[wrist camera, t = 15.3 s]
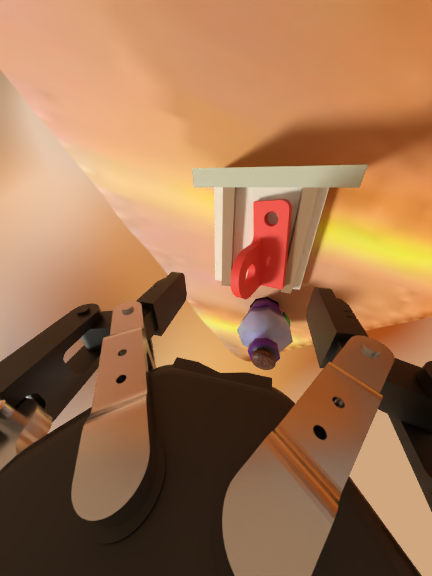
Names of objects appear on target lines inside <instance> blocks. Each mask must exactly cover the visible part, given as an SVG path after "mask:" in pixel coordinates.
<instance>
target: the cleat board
mask: <svg viewBox="0 0 432 576" xmlns="http://www.w3.org/2000/svg"><path fill="white" fill-rule="evenodd" d="M367 166H368V165H326V166H280V167H234V168H192V170H193V186H194V187H214V203H215V280H221V281H222V285H225V286H231V271H232V267H233V264H234V261H235V259H236V257H237V255H238V254H239V252H240V251H241V250H243V249H244V248H246V247H247V246H249V245H250V244H251V243H252V241H253V235H254V230H253V202H254V201H260V200H275V199H287V200H289V201H290V203H291V205H292V214H291V224H290V235H289V246H288V256H287V267H286V277H285V286H284V288H283V289H280V290H281V292H283V293H291V291H292V289H299V290H300V287H301V284H302V280H303V277H304V273H305V270H306V266H307V263H308V259H309V256H310V253H311V249H312V246H313V242H314V239H315V235H316V232H317V228H318V225H319V221H320V218H321V214H322V211H323V207H324V204H325V201H326V197H327V194H328V190H329V188H360V185H361V182H362V179H363V177H364V174H365V171H366V169H367ZM267 218H268V221H269V223H270V224H273V225H275V224H277V222H278V215H277V214H276V213H275V212H273V211H270V212H269V214H268V217H267ZM247 274H248V270H247ZM247 274H246V278H247Z"/></svg>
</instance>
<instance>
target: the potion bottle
mask: <svg viewBox="0 0 432 576" xmlns="http://www.w3.org/2000/svg"><path fill="white" fill-rule="evenodd" d="M237 331H238V333H239V336H240V339H241V341H242V344H243V345H245V346H247V347H249V348H248V353H249V355H250V358H251V360H252V362H253V364H254V365H255V366H256V367H258V368H260V369H264V370H270V369H273V368H274V367H275V363H276V362H277V361H278V360H279V359H280V354H279V353H280V352H281V351H282V350H283V349H284V348H286V347H287V346H288V345H289V344H290V343H292V342H293V341H292V336H291V331H290V322H289V319H288V316H287V314H286V313H285V312H283V314H282V313H281V311H280V309H279V305H278V303H277V302H276V301H274V300H272V299H270V298H268V297H266V298H259V299H255V301H254V302H253V303H252V305H251V306H250V310H249V311H248V313H247V315H246V316H245V317H244V319H243V320H242V322H241V324H240V326H239V328H238V330H237Z"/></svg>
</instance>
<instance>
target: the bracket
mask: <svg viewBox="0 0 432 576" xmlns="http://www.w3.org/2000/svg"><path fill="white" fill-rule="evenodd" d="M270 211H273V212H275V213H276V214H277V215H278V222H277V224H275V225H273V224H270V223H269V221H268V218H267V217H268V214H269V212H270ZM291 214H292V205H291V203H290V201H289V200H287V199H275V200H260V201H254V202H253V230H254V235H253V241H252V243H251V244H250V245H249V246H247V247H246V248H244V249H243V250H241V251H240V252H239V254H238V255H237V257H236V259H235V261H234V264H233V267H232V271H231V289H232V292H233V294H234V295H235V296H236V297H239V298H243V299H248V298H249V297H250V296H251V295H252V294H253V293H254V292H255V291H256V290H257V288H258V287H259V286H260V285H263V286H267V287H272V288H277V289H283V288H284V286H285V277H286V267H287V256H288V246H289V235H290V224H291ZM247 270H248V274H247ZM246 274H247V278H246Z"/></svg>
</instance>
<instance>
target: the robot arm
mask: <svg viewBox="0 0 432 576" xmlns="http://www.w3.org/2000/svg"><path fill="white" fill-rule="evenodd" d="M186 296H187V292H186V284H185V277H184V274H183V273H177V272H171V273H170V274H169V275H168V276H167V277H166V278H163V279H162V280H160V281H157V282H156V283H155V284H154V285H153V287H151V288H150V289H149V290H148V291H147V292H145V294H143V295H142V296H141V297H140V298H139V299H138V300H137V301H129V302H125V303H122V304H120V305H118V307H116V308H115V309H114V310H113V311H103V312H101V310H100V308H99V306H98V305H96V304H86V305H82V306H79V307H77V308H75V309H74V310H72V311H71V312H70V313H68V314H66V315H65V316H64V317H62V318H61V319H59V320H58V321H57V322H55V323H54V324H53V325H51V326H50V327H48V328H47V329H46V330H44V331H43V332H42V333H40V334H39V335H37V336H36V337H35V338H33V339H32V340H30V341H29V342H27V343H26V344H25V345H23V346H22V347H20V348H19V349H18V350H16V351H15V352H14V353H12V354H11V355H9V356H8V357H7V358H5V359H4V360H2V361H1V362H0V576H421V574H420V573H419V571H418V570H417V569H416V567H415V566H414V565H413V563H412V562H411V560H410V559H409V558H408V556H407V555H406V554H405V552H404V551H403V550H402V548H401V547H400V545H399V544H398V543H397V541H396V540H395V539H394V537H393V536H392V534H391V533H390V532H389V530H388V529H387V528H386V526H385V525H384V523H383V522H382V521H381V520H380V518H379V517H378V515H377V514H376V512H375V511H374V510H373V508H372V507H371V506H370V504H369V503H368V501H367V500H366V499H365V497H364V496H363V495H362V493H361V492H360V490H359V489H358V488H357V486H356V485H355V484H354V483H353V481H352V479H351V478H350V477H349V474H350V472H351V470H352V467H353V465H354V463H355V460H356V458H357V456H358V453H359V451H360V449H361V446H362V444H363V442H364V439H365V437H366V435H367V433H368V430H369V428H370V425H371V423H372V421H373V419H374V416H375V414H376V412H377V409H379V410H381V411H383V412H385V413H388V415H389V418H390V420H391V422H392V424H393V426H394V429H395V431H396V433H397V435H398V437H399V440H400V442H401V444H402V446H403V448H404V451H405V453H406V455H407V458H408V460H409V462H410V464H411V466H412V469H413V471H414V473H415V475H416V478H417V480H418V482H419V484H420V486H421V489H422V491H423V493H424V495H425V498H426V500H427V502H428V504H429V507H430V509H431V511H432V361H429V362H427V363H426V364H425V365H424V366H423V367H422V368H421V367H418V366H415V365H413V364H410V363H407V362H404V361H401V360H399V359H396V358H394V355H393V353H392V352H391V351H390V349H388V348H387V347H386V346H385V345H384V344H382V343H380V342H379V341H377V340H375V339H372V338H369V337H368V335H367V334H366V332H365V330H364V329H363V327H362V326H361V324H360V322H359V321H358V319H356V316H355V315H354V313H352V312H353V311H352V310H351V308H350V307H349V305H348V304H347V303H345V302H344V301H343V300H341V299H338V298H336V297H335V295H334V293H333V291H332V290H331V289H327V288H318V287H315V288H314V290H313V293H312V296H311V299H310V302H309V305H308V308H307V314H306V317H307V322H308V326H309V330H310V333H311V337H312V341H313V344H314V347H315V352H316V355H317V359H318V363H319V366H320V368H324V369H323V370H322V371H321V372H320V374H319V375H318V376H317V377H316V379H315V380H314V381H313V382H312V384H311V385H310V386H309V387H308V389H307V390H306V391H305V392H304V394H303V395H302V396H301V398H300V399H299V400H298V401H297V403H296V404H295V403H294V402H293V401H292V400H291V399H290V398H289V397H287V396H286V395H285V394H283V393H282V392H281V391H279V390H277V389H276V388H274V387H272V378H269V377H264V376H260V375H255V374H251V373H219V372H217V371H215V370H213V369H211V368H209V367H207V366H205V365H203V364H201V363H199V362H195V361H191V360H186V359H182V358H176V360H175V362H174V364H173V365H165V366H161V367H158V368H156V364H155V357H154V350H153V343H152V339H151V338H152V336H153V335H158V336H162V334H163V333H164V332H165V330H166V328H167V327H168V326H169V324H170V323H171V321H172V320H173V318H174V317H175V315H176V314H177V312H178V311H179V309H180V308H181V307H182V305H183V304H184V302H185V300H186ZM79 339H81V340H82V342H83V344H84V346H83V347H82V348H81V349H80V350H79V351H78V352H77V353H76V354H75V355H74V356H73V357H72V358H71V359H70V360H69V361H68V362H67V363H66V364H65V362H64V360H63V357H64V354H65V352H66V351H67V350H68V349H69V348H70V347H71V346H72V345H73V344H74V343H75V342H76V341H77V340H79ZM97 368H98V374H97V379H96V386H95V392H94V398H93V404H92V407H91V408H89V409H88V410H86V411H84V412H83V413H81V414H79V415H78V416H76V417H75V418H73V419H71V420H70V421H68V422H66V423H65V424H63V425H62V426H60V427H58V428H57V429H55V430H53V431H52V432H50V433H49V434H47V433H48V432H49V430H50V428H51V425H52V422H53V421H54V420H55V419H56V418H57V416H58V415H59V414H60V413H61V412H62V410H63V409H64V408H65V407H66V405H67V404H68V403H69V402H70V401H71V400H72V398H73V397H74V396H75V395H76V394H77V392H78V391H79V390H80V389H81V388H82V386H83V385H84V384H85V383H86V381H87V380H88V379H89V378H90V377H91V376H92V374H93V373H94V372H95V371H96V369H97Z"/></svg>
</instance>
